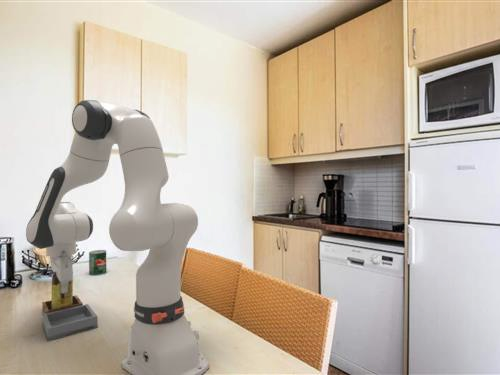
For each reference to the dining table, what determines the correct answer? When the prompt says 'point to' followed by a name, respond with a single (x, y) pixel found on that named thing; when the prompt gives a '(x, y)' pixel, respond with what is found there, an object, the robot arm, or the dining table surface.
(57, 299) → the sauce bottle
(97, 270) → the canned tomato
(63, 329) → the grey tray
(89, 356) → the dining table surface
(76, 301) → the walnut collar
